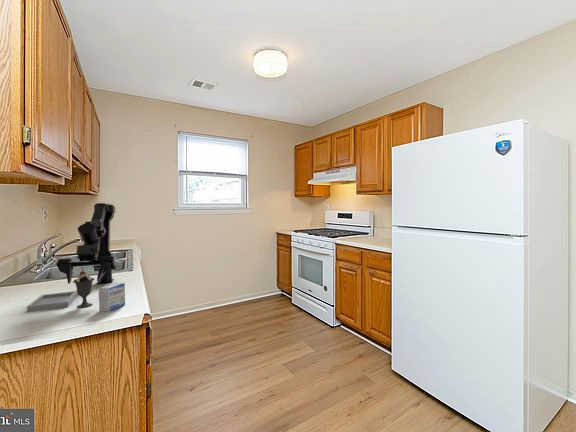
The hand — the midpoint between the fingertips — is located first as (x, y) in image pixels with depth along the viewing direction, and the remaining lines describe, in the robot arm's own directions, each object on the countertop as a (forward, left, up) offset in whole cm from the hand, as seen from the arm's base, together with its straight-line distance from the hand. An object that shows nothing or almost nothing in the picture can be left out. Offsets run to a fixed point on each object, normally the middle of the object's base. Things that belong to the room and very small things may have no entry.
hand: (83, 282), depth 108 cm
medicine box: (+6, +10, -10) cm, 15 cm away
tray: (-10, -11, -9) cm, 18 cm away
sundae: (-1, 0, -10) cm, 10 cm away
